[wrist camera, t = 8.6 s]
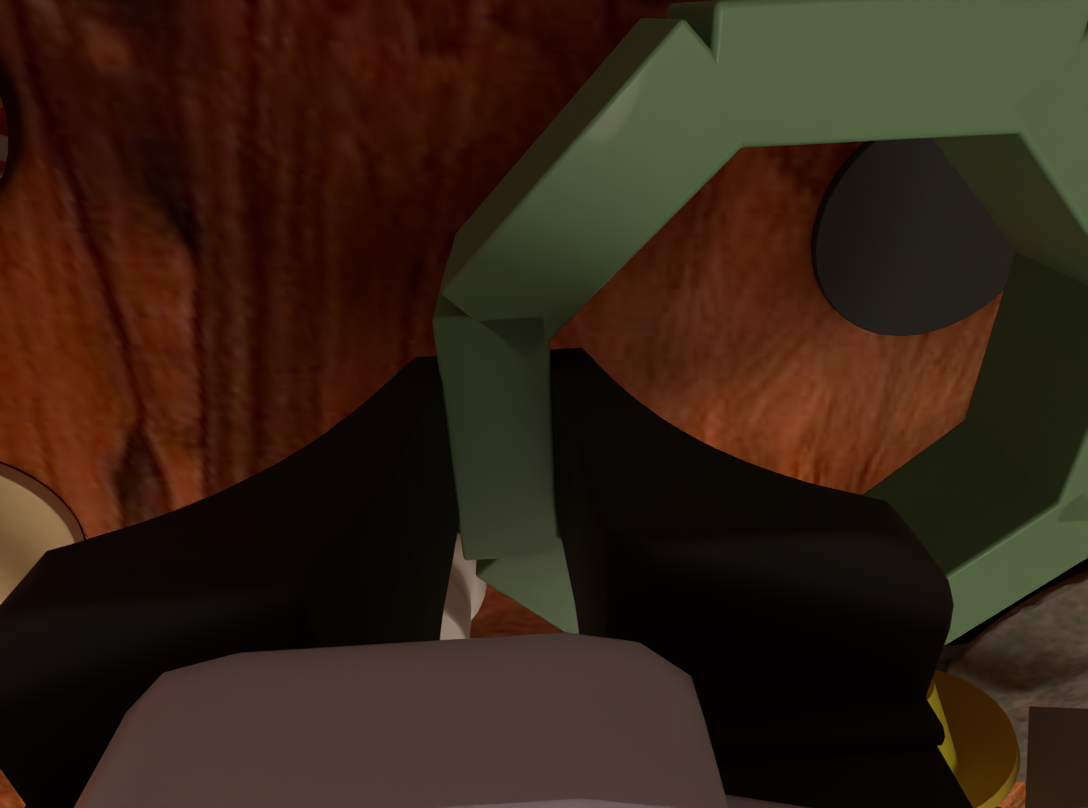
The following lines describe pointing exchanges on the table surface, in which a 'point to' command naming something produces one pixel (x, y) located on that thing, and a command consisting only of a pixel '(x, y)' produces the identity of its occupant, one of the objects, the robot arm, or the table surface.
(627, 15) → the table surface
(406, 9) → the table surface
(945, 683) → the toy
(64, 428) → the table surface
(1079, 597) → the stone
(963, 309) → the coaster
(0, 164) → the soda can
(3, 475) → the peg stand
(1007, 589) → the ring
